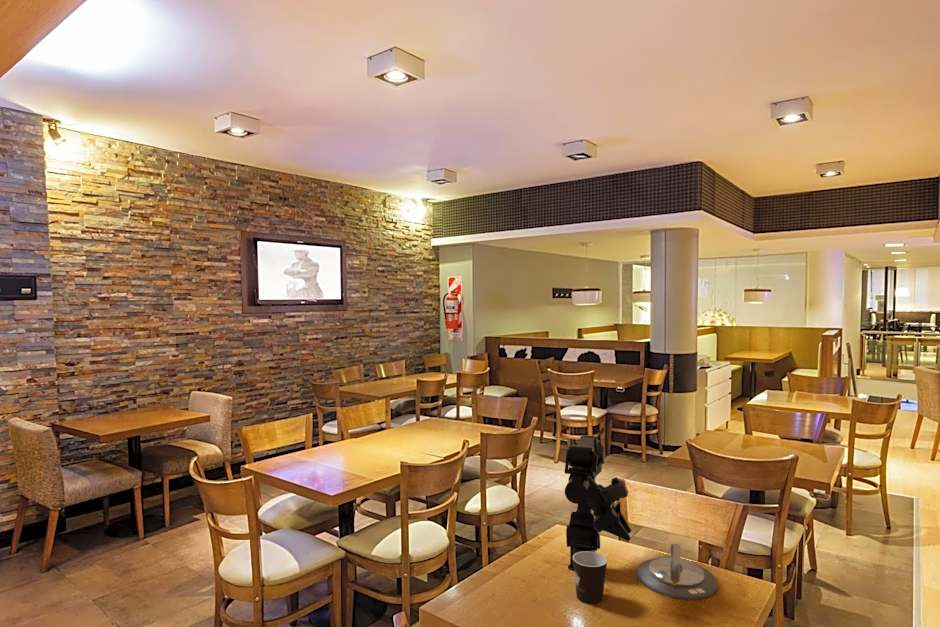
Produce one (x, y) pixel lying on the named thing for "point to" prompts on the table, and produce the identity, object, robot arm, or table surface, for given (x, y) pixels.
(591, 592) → the coffee mug
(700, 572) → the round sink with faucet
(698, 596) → the dial base
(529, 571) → the table surface
